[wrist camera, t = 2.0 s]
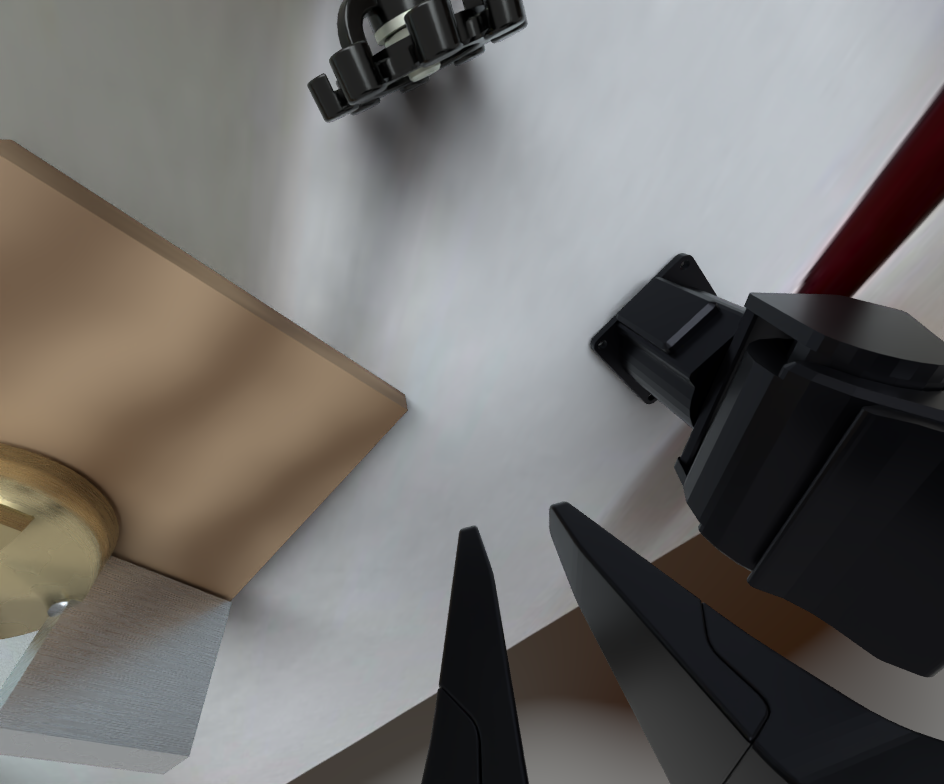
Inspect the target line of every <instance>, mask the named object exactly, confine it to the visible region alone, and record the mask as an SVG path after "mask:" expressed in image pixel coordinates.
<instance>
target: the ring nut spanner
mask: <svg viewBox="0 0 944 784" xmlns="http://www.w3.org/2000/svg"><path fill="white" fill-rule="evenodd" d="M118 538H119V523H118V519H117V515H116V513H115V511H114V509H113V507H112V505H111V504H110V503H109V501H108V500H107V498H106V497H105V496H104V495H103V494H102V493H101V492H100V491H99V490H98V489H97V488H96V487H95V486H94V485H93V484H91V483H90V482H89V481H88V480H87V479H85V478H84V477H82V476H81V475H79V474H78V473H76V472H75V471H73V470H71V469H69V468H67V467H66V466H64V465H62V464H60V463H58V462H56V461H53V460H51V459H49V458H46V457H44V456H42V455H39V454H36V453H33V452H30V451H27V450H24V449H21V448H17V447H13V446H9V445H5V444H1V443H0V639H5V638H11V637H15V636H20V635H24V634H27V633H30V632H34V631H37V630H39V631H38V633H37V634H36V636H35V638H34V639H33V641H32V642H31V644H30V645H29V647H28V648H27V650H26V651H25V653H24V654H23V656H22V657H21V659H20V660H19V662H18V663H17V665H16V666H15V668H14V669H13V671H12V672H11V674H10V675H9V677H8V678H7V680H6V681H5V683H4V684H3V686H2V687H1V689H0V755H8V756H16V757H24V758H33V759H41V760H49V761H57V762H66V763H74V764H82V765H90V766H99V767H107V768H115V769H124V770H132V771H140V772H148V773H157V774H165V773H166V772H167V771H169V770H170V769H172V768H173V767H175V766H176V765H178V764H179V763H181V762H182V761H183V760H185V759H186V758H188V757H189V755H190V752H191V748H192V744H193V741H194V737H195V734H196V730H197V726H198V723H199V719H200V716H201V712H202V708H203V705H204V701H205V697H206V694H207V690H208V687H209V683H210V679H211V676H212V672H213V669H214V665H215V661H216V658H217V654H218V651H219V647H220V643H221V640H222V636H223V633H224V629H225V625H226V622H227V618H228V615H229V611H230V607H231V604H232V602H229V601H227V600H224V599H222V598H219V597H216V596H214V595H211V594H209V593H206V592H204V591H201V590H199V589H196V588H193V587H191V586H188V585H186V584H183V583H181V582H178V581H175V580H173V579H170V578H168V577H165V576H163V575H160V574H157V573H155V572H152V571H150V570H147V569H145V568H142V567H139V566H137V565H134V564H132V563H129V562H127V561H124V560H121V559H119V558H116V557H114V556H111V554H112V553H113V551H114V549H115V547H116V545H117V543H118Z"/></svg>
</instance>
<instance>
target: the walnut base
mask: <svg viewBox="0 0 944 784" xmlns="http://www.w3.org/2000/svg"><path fill="white" fill-rule="evenodd" d="M407 411H408V409H407V404H406V399H405V394H403V393H401V392H400V391H398V390H397V389H395V388H394V387H392V386H391V385H389V384H388V383H386V382H384V381H383V380H381V379H380V378H378V377H377V376H375V375H374V374H372V373H371V372H369V371H367V370H366V369H364V368H363V367H361V366H360V365H358V364H357V363H355V362H354V361H352V360H351V359H349V358H347V357H346V356H344V355H343V354H341V353H340V352H338V351H337V350H335V349H334V348H332V347H330V346H329V345H327V344H326V343H324V342H323V341H321V340H320V339H318V338H317V337H315V336H313V335H312V334H310V333H309V332H307V331H306V330H304V329H303V328H301V327H300V326H298V325H296V324H295V323H293V322H292V321H290V320H289V319H287V318H286V317H284V316H283V315H281V314H280V313H278V312H276V311H275V310H273V309H272V308H270V307H269V306H267V305H266V304H264V303H263V302H261V301H259V300H258V299H256V298H255V297H253V296H252V295H250V294H249V293H247V292H246V291H244V290H242V289H241V288H239V287H238V286H236V285H235V284H233V283H232V282H230V281H229V280H227V279H225V278H224V277H222V276H221V275H219V274H218V273H216V272H215V271H213V270H212V269H210V268H208V267H207V266H205V265H204V264H202V263H201V262H199V261H198V260H196V259H195V258H193V257H192V256H190V255H188V254H187V253H185V252H184V251H182V250H181V249H179V248H178V247H176V246H175V245H173V244H171V243H170V242H168V241H167V240H165V239H164V238H162V237H161V236H159V235H158V234H156V233H154V232H153V231H151V230H150V229H148V228H147V227H145V226H144V225H142V224H141V223H139V222H137V221H136V220H134V219H133V218H131V217H130V216H128V215H127V214H125V213H124V212H122V211H120V210H119V209H117V208H116V207H114V206H113V205H111V204H110V203H108V202H107V201H105V200H104V199H102V198H100V197H99V196H97V195H96V194H94V193H93V192H91V191H90V190H88V189H87V188H85V187H83V186H82V185H80V184H79V183H77V182H76V181H74V180H73V179H71V178H70V177H68V176H66V175H65V174H63V173H62V172H60V171H59V170H57V169H56V168H54V167H53V166H51V165H49V164H48V163H46V162H45V161H43V160H42V159H40V158H39V157H37V156H36V155H34V154H32V153H31V152H29V151H28V150H26V149H25V148H23V147H22V146H20V145H19V144H17V143H16V142H14V141H12V140H0V443H1V444H5V445H9V446H13V447H17V448H21V449H24V450H27V451H30V452H33V453H36V454H39V455H42V456H44V457H46V458H49V459H51V460H53V461H56V462H58V463H60V464H62V465H64V466H66V467H67V468H69V469H71V470H73V471H75V472H76V473H78V474H79V475H81V476H82V477H84V478H85V479H87V480H88V481H89V482H90V483H91V484H93V485H94V486H95V487H96V488H97V489H98V490H99V491H100V492H101V493H102V494H103V495H104V496H105V497H106V498H107V500H108V501H109V503H110V504H111V505H112V507H113V509H114V511H115V513H116V515H117V519H118V523H119V538H118V543H117V545H116V547H115V549H114V551H113V553H112V554H111V556H114V557H116V558H119V559H121V560H124V561H127V562H129V563H132V564H134V565H137V566H139V567H142V568H145V569H147V570H150V571H152V572H155V573H157V574H160V575H163V576H165V577H168V578H170V579H173V580H175V581H178V582H181V583H183V584H186V585H188V586H191V587H193V588H196V589H199V590H201V591H204V592H206V593H209V594H211V595H214V596H216V597H219V598H222V599H224V600H227V601H229V602H230V601H231V600H232V599H233V598H234V597H235V596H236V595H237V594H238V593H239V591H240V590H241V589H242V588H243V587H244V586H245V585H246V584H247V583H248V582H249V581H250V580H251V579H252V577H253V576H254V575H255V574H256V573H257V572H258V571H259V570H260V569H261V568H262V567H263V566H264V565H265V563H266V562H267V561H268V560H269V559H270V558H271V557H272V556H273V555H274V554H275V553H276V552H277V551H278V549H279V548H280V547H281V546H282V545H283V544H284V543H285V542H286V541H287V540H288V539H289V538H290V537H291V535H292V534H293V533H294V532H295V531H296V530H297V529H298V528H299V527H300V526H301V525H302V524H303V523H304V521H305V520H306V519H307V518H308V517H309V516H310V515H311V514H312V513H313V512H314V511H315V510H316V509H317V507H318V506H319V505H320V504H321V503H322V502H323V501H324V500H325V499H326V498H327V497H328V496H329V495H330V493H331V492H332V491H333V490H334V489H335V488H336V487H337V486H338V485H339V484H340V483H341V482H342V481H343V479H344V478H345V477H346V476H347V475H348V474H349V473H350V472H351V471H352V470H353V469H354V468H355V467H356V465H357V464H358V463H359V462H360V461H361V460H362V459H363V458H364V457H365V456H366V455H367V454H368V453H369V451H370V450H371V449H372V448H373V447H374V446H375V445H376V444H377V443H378V442H379V441H380V440H381V439H382V437H383V436H384V435H385V434H386V433H387V432H388V431H389V430H390V429H391V428H392V427H393V426H394V425H395V423H396V422H397V421H398V420H399V419H400V418H401V417H402V416H403V415H404V414H405V413H406V412H407Z"/></svg>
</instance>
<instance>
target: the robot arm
mask: <svg viewBox="0 0 944 784" xmlns="http://www.w3.org/2000/svg"><path fill="white" fill-rule="evenodd" d="M683 261H684V265H683V266H682V267H681V268H680V266H681V264H682V262H683ZM744 307H746V308H744ZM744 307H741V306H739V305H736V304H734V303H732V302H729V301H727V300H724V299H722V298H719V297H717V295H716V293H715V292H714V290H713V289H712V287H711V285H710V284H709V282H708V281H707V279H706V277H705V276H704V274H703V273H702V271H701V269H700V268H699V266H698V265H697V263H696V261H695V260H694V258H693V257H692V256H691V255H688V254H684V253H681V254H678V255H677V256H676V257H675V258H674V259H673V260H671V261H670V262H669V263H668V264H667V265H666V266H665V267H664V268H663V269H662V270H661V271H660V272H659V273H658V274H657V275H656V276H655V277H654V278H653V279H652V280H651V281H650V282H649V283H648V284H647V285H646V286H645V287H644V288H643V289H642V290H641V291H640V292H639V293H638V294H637V295H636V296H635V297H634V298H633V299H632V300H631V301H630V302H628V303H627V304H626V305H625V306H624V307H623V308H622V309H621V310H620V311H619V312H618V313H617V314H616V315H615V316H614V317H613V318H612V319H611V320H610V321H609V322H608V323H607V324H606V325H605V326H604V327H603V328H602V329H601V330H600V331H599V332H598V333H597V334H596V335H595V336H594V337H593V338H592V340H591V343H590V345H591V348H592V349H593V350H594V351H595V352H596V353H597V354H598V355H599V356H600V357H601V358H602V360H603V361H604V362H605V363H606V364H607V365H608V366H609V367H610V368H611V369H612V370H613V371H614V372H615V373H616V374H617V375H618V376H619V377H620V378H621V379H622V380H623V381H624V382H625V383H626V384H627V385H628V386H629V387H630V388H631V389H632V390H633V391H634V392H635V393H636V394H637V395H638V396H639V397H640V398H641V399H642V400H643V401H644V402H645V403H646V404H651V403H654V402H655V401H656V400H657V399H658V400H659V401H660V402H662V403H663V404H664V405H665V406H666V407H667V408H669V409H670V410H671V411H672V412H673V413H675V414H676V415H677V416H678V417H679V418H681V419H682V420H683V421H684V422H685V423H687V424H688V425H689V426H690V427H691V428H693V430H692V432H691V435H690V437H689V439H688V441H687V444H686V446H685V448H684V450H683V453H682V455H681V457H678V459H677V461H676V463H675V465H674V468H675V470H676V472H677V474H678V477H679V479H680V481H681V483H682V485H683V489H684V493H685V498H686V502H687V504H688V505H689V507H690V509H691V510H692V512H693V513H694V515H695V516H696V518H697V519H698V521H699V522H700V525H699V527H698V528H699V531H700V532H701V534H702V535H703V536H704V537H705V538H706V539H707V540H708V541H709V542H710V543H711V544H713V546H714V547H716V548H717V549H718V550H719V551H720V552H722V553H723V554H724V555H726V556H727V557H729V558H730V559H731V560H733V561H734V562H736V563H737V564H739V565H741V566H743V567H744V568H746V569H748V570H750V571H752V572H751V573H750V575H749V576H748V578H747V582H748V583H749V584H750V585H751V586H752V587H754V588H756V589H759V590H762V591H764V592H767V593H770V594H773V595H775V596H778V597H781V598H784V599H786V600H787V601H790V602H791V603H793V604H795V605H797V606H799V607H801V608H803V609H805V610H807V611H809V612H810V613H812V614H814V615H815V616H817V617H818V618H820V619H821V620H823V621H825V622H826V623H828V624H829V625H831V626H833V627H834V628H835V629H836V630H838V631H839V632H841V633H842V634H844V635H845V636H846V637H848V638H849V639H851V640H852V641H853V642H855V643H856V644H857V645H859V646H860V647H862V648H863V649H865V650H866V651H867V652H869V653H870V654H872V655H873V656H875V657H876V658H878V659H880V660H882V661H884V662H886V663H889V664H892V665H894V666H897V667H899V668H902V669H905V670H907V671H910V672H912V673H915V674H917V675H920V676H924V677H933V676H935V675H936V674H937V673H938V672H940V671H941V670H942V669H943V668H944V342H943V341H942V340H941V339H940V338H938V337H937V336H936V335H935V334H933V333H932V332H931V331H930V330H928V329H927V328H926V327H925V326H923V325H922V324H921V323H920V322H918V321H917V320H916V319H915V318H913V317H912V316H911V315H910V314H908V313H907V312H904V311H902V310H898V309H894V308H890V307H886V306H882V305H878V304H874V303H870V302H866V301H861V300H857V299H853V298H849V297H845V296H840V295H822V294H786V293H750V294H749V296H748V298H747V301H746V303H745V305H744ZM601 341H603V343H602V345H600V346H598V344H599V343H600V342H601ZM650 394H651V395H650ZM649 395H650V396H649ZM648 396H649V397H648ZM549 529H550V534H551V537H552V540H553V542H554V545H555V548H556V550H557V553H558V555H559V558H560V561H561V563H562V566H563V568H564V571H565V573H566V576H567V579H568V581H569V584H570V586H571V589H572V591H573V594H574V596H575V599H576V601H577V603H578V605H579V607H580V609H581V611H582V613H583V614H584V617H585V619H586V620H587V622H588V624H589V626H590V628H591V630H592V632H593V634H594V636H595V638H596V640H597V642H598V644H599V646H600V648H601V650H602V652H603V653H604V656H605V657H606V659H607V661H608V663H609V665H610V667H611V669H612V671H613V673H614V675H615V677H616V679H617V681H618V683H619V685H620V687H621V689H622V690H623V692H624V694H625V696H626V698H627V700H628V702H629V704H630V706H631V708H632V710H633V712H634V714H635V716H636V717H637V720H638V722H639V723H640V725H641V727H642V729H643V731H644V733H645V735H646V737H647V739H648V741H649V743H650V745H651V747H652V749H653V751H654V753H655V754H656V757H657V758H658V760H659V762H660V764H661V766H662V768H663V770H664V772H665V774H666V776H667V778H668V780H669V782H670V784H944V741H942V740H939V739H935V738H932V737H929V736H927V735H924V734H921V733H918V732H915V731H913V730H910V729H908V728H905V727H903V726H900V725H898V724H896V723H894V722H892V721H889V720H888V719H886V718H884V717H882V716H880V715H878V714H876V713H874V712H872V711H870V710H869V709H867V708H865V707H864V706H862V705H860V704H858V703H857V702H855V701H853V700H852V699H850V698H848V697H847V696H845V695H844V694H842V693H841V692H839V691H837V690H836V689H834V688H833V687H831V686H829V685H828V684H826V683H825V682H823V681H821V680H820V679H818V678H817V677H815V676H813V675H812V674H810V673H809V672H807V671H805V670H804V669H802V668H800V667H799V666H797V665H796V664H794V663H792V662H791V661H789V660H788V659H786V658H784V657H783V656H781V655H780V654H778V653H777V652H775V651H773V650H772V649H770V648H769V647H767V646H766V645H764V644H762V643H761V642H760V641H758V640H756V639H755V638H753V637H752V636H750V635H749V634H747V633H746V632H744V631H743V630H742V629H740V628H739V627H737V626H736V625H734V624H733V623H732V622H730V621H729V620H728V619H726V618H725V617H723V616H722V615H720V614H719V613H717V612H716V611H715V610H714V609H712V608H711V607H710V606H708V605H707V604H705V603H701V600H700V599H698V598H697V597H696V596H694V595H693V594H692V593H690V592H689V591H688V590H686V589H685V588H684V587H682V586H681V585H680V584H678V583H677V582H675V581H674V580H673V579H671V578H670V577H669V576H667V575H666V574H665V573H663V572H662V571H660V570H659V569H658V568H656V567H655V566H654V565H652V564H651V563H650V562H648V561H647V560H646V559H644V558H643V557H641V556H640V555H639V554H637V553H636V552H635V551H633V550H632V549H631V548H629V547H628V546H627V545H625V544H624V543H622V542H621V541H620V540H618V539H617V538H616V537H614V536H613V535H612V534H610V533H609V532H608V531H606V530H605V529H603V528H602V527H601V526H599V525H598V524H597V523H595V522H594V521H593V520H591V519H590V518H588V517H587V516H586V515H584V514H583V513H582V512H580V511H579V510H578V509H576V508H575V507H574V506H572V505H571V504H569V503H568V502H560V503H557V504H553V505H551V506H550V509H549ZM439 687H440V688H439V689H438V693H437V700H436V708H435V715H434V721H433V728H432V733H431V740H430V745H429V750H428V755H427V759H426V764H425V769H424V773H423V778H422V783H421V784H529V781H528V775H527V769H526V763H525V758H524V751H523V745H522V739H521V734H520V728H519V722H518V716H517V710H516V704H515V698H514V692H513V686H512V680H511V674H510V668H509V662H508V656H507V650H506V644H505V639H504V633H503V627H502V621H501V615H500V609H499V603H498V597H497V591H496V585H495V580H494V575H493V571H492V568H491V565H490V562H489V559H488V556H487V553H486V550H485V547H484V545H483V542H482V539H481V536H480V533H479V530H478V528H477V527H476V526H471V527H467V528H463V529H461V530H460V532H459V538H458V546H457V553H456V561H455V568H454V576H453V583H452V590H451V598H450V605H449V613H448V620H447V628H446V635H445V643H444V650H443V658H442V665H441V672H440V680H439Z"/></svg>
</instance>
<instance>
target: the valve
mask: <svg viewBox="0 0 944 784" xmlns="http://www.w3.org/2000/svg"><path fill="white" fill-rule="evenodd" d="M462 1H463V5H464V8H465V10H464V11H461V12H458V13H456V14H454V12H453V8H452V5H451V2H450V0H343V2H342V4H341V6H340V9H339V13H338V21H337V27H338V36H339V40H340V44H341V47H342V49H341V50H339V51H338V52H336V53H335V54H334V55H332V56H331V58H330V59H329V63H330V65H331V67H332V69H333V72H334V74H335V76H336V78H337V81H336V85H337V87H338V90H336V91H333V89H332V87H331V84H330V82H329V80H328V78H327V76H326V74H324V73H323V74H321V75H319V76H317V77H316V78H314V79H313V80H311V81H310V82H309V83H308V88H309V90H310V92H311V94H312V96H313V98H314V100H315V102H316V104H317V106H318V108H319V110H320V112H321V114H322V116H323V118H324V120H325V122H327V123H329V122H333V121H335V120H337V119H340V118H342V117H344V116H346V115H348V114H351V115H357V114H359V113H361V112H364V111H366V110H368V109H370V108H372V107H374V106H375V105H377V104H379V103H380V98H382V97H384V96H386V95H388V94H390V93H393V92H395V91H397V90H400V92H401V93H406V92H408V91H410V90H413V89H415V88H417V87H419V86H421V85H423V84H424V83H426V82H427V81H428V80H429V75H431V74H433V73H435V72H437V71H439V70H441V69H442V68H444V67H446V66H449V65H451V64H453V63H454V65H455V66H458V65H461V64H463V63H466V62H468V61H470V60H472V59H474V58H476V57H477V56H479V55H481V54H482V53H484V51H485V46H484V45H485V44H487V43H489V42H490V41H491V42H492V43H497V42H500V41H502V40H504V39H506V38H508V37H510V36H512V35H514V34H516V33H518V32H519V31H521V30H523V29H524V28H526V26H527V19H526V14H525V10H524V6H523V1H522V0H462ZM366 17H367V18H368V20H369V23H370V26H371V28H372V31H373V33H374V36H375V38H376V41H377V43H378V45H379V46H383V45H385V49H383V50H382V51H380V52H379V53H377V54H375V55H374V56H373V55H372V52H371V50H370V47H369V45H368V42H367V40H366V38H365V35H364V32H363V25H362V24H363V18H366Z"/></svg>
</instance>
